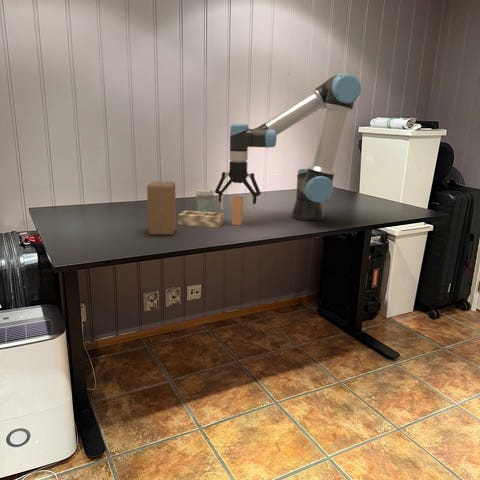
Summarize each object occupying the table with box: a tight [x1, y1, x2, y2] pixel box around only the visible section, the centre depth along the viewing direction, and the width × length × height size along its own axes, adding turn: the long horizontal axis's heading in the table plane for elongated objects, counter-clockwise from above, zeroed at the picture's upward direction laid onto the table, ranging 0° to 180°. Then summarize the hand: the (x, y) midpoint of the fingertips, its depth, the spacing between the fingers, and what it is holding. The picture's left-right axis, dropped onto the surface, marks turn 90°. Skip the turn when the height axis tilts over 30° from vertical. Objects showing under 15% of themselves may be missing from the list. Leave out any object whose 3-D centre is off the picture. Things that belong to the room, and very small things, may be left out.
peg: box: [231, 195, 244, 226], centre depth 205 cm, size 4×4×12 cm
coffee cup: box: [195, 188, 215, 212], centre depth 220 cm, size 8×8×12 cm
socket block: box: [178, 210, 225, 229], centre depth 204 cm, size 18×9×4 cm, turn 80°
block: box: [146, 180, 177, 236], centre depth 187 cm, size 10×10×20 cm
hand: (237, 210), depth 205 cm, fingers open, 12 cm apart
